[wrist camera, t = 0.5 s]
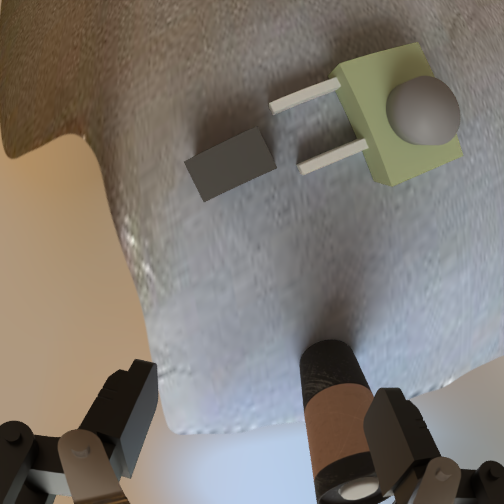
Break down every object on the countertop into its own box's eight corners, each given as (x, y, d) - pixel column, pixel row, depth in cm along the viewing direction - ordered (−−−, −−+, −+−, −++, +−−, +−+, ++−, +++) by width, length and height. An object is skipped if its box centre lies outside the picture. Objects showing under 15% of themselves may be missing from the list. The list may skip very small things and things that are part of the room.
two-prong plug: (398, 54, 27) (434, 31, 18) (439, 153, 30) (483, 157, 22) (265, 100, 29) (266, 82, 21) (314, 206, 32) (332, 225, 24)
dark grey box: (257, 130, 30) (257, 126, 25) (274, 165, 31) (277, 168, 26) (195, 160, 31) (183, 161, 26) (212, 194, 32) (203, 202, 28)
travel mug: (307, 390, 40) (326, 519, 21) (289, 350, 38) (304, 491, 19) (360, 371, 39) (405, 494, 20) (348, 328, 37) (402, 460, 18)
